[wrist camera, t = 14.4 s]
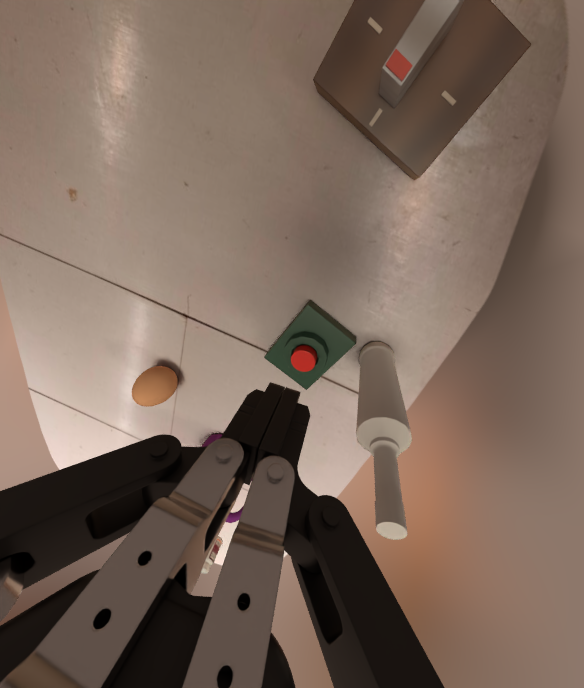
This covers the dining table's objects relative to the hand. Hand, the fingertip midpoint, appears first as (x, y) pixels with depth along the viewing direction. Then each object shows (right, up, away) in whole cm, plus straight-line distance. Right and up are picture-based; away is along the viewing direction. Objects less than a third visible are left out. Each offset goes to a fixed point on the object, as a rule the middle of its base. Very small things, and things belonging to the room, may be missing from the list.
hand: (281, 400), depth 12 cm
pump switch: (+3, +3, +29) cm, 29 cm away
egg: (-24, -3, +40) cm, 47 cm away
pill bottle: (-24, -59, +69) cm, 94 cm away
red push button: (+2, +1, +26) cm, 26 cm away
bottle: (+13, +1, +27) cm, 30 cm away
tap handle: (+11, +27, +10) cm, 31 cm away
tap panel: (+12, +29, +13) cm, 34 cm away
